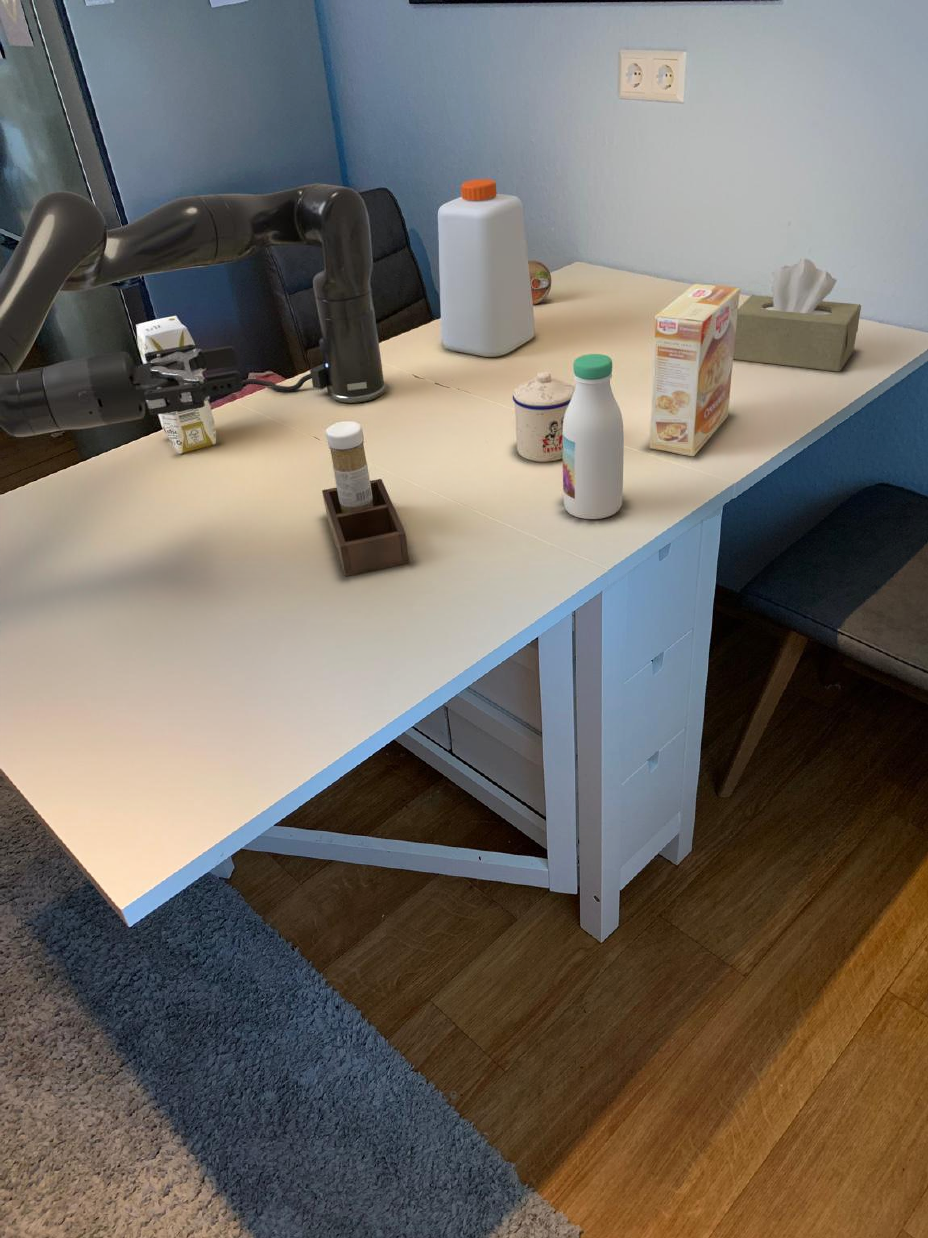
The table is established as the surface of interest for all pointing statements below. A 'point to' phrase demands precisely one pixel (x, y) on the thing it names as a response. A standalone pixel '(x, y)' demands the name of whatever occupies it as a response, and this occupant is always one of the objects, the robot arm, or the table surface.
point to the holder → (367, 532)
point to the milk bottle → (593, 442)
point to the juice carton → (185, 425)
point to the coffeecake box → (693, 367)
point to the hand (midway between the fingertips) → (238, 367)
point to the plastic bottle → (484, 272)
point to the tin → (539, 281)
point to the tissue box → (797, 322)
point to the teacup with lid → (541, 417)
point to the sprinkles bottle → (350, 466)
